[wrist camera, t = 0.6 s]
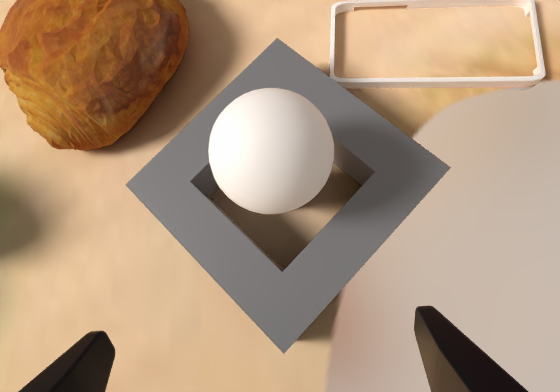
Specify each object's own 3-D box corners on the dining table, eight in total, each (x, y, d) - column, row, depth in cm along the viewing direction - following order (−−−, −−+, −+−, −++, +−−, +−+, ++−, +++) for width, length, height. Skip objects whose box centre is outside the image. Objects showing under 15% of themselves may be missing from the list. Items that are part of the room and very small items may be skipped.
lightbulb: (232, 219, 24) (165, 169, 14) (262, 144, 25) (222, 45, 15) (312, 247, 23) (307, 218, 12) (340, 167, 24) (357, 79, 14)
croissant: (231, 57, 30) (215, -29, 23) (107, 188, 26) (36, 134, 19) (116, -10, 33) (69, -105, 26) (-13, 98, 29) (-115, 20, 21)
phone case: (328, 92, 26) (535, 90, 25) (329, 82, 25) (547, 80, 23) (331, 13, 28) (523, 7, 26) (331, 0, 27) (534, -7, 25)
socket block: (428, 186, 23) (450, 167, 19) (289, 341, 22) (283, 353, 18) (283, 73, 27) (277, 37, 23) (154, 199, 25) (125, 184, 21)
